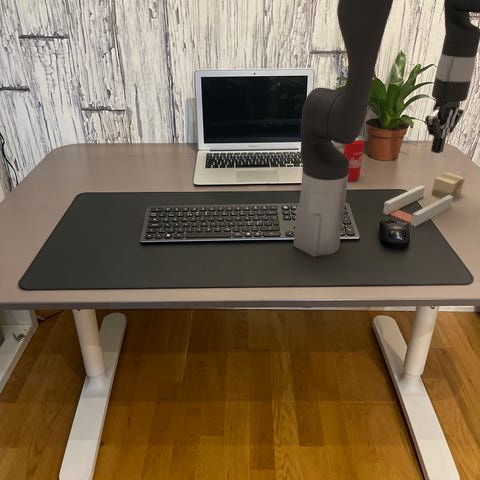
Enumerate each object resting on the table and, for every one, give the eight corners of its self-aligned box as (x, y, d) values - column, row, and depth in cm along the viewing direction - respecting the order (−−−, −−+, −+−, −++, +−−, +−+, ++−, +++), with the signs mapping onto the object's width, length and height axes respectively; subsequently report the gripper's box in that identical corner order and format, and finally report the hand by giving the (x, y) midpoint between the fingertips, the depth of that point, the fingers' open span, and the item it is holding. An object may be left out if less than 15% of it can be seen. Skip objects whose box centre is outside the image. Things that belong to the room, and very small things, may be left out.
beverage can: (358, 175, 142) (363, 134, 136) (360, 182, 137) (365, 141, 131) (339, 174, 142) (344, 134, 136) (341, 181, 138) (346, 140, 132)
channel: (415, 226, 115) (417, 215, 114) (382, 213, 121) (384, 202, 120) (450, 207, 124) (453, 196, 123) (418, 195, 130) (421, 185, 129)
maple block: (448, 201, 127) (453, 183, 125) (431, 195, 131) (435, 177, 128) (460, 195, 131) (465, 178, 128) (443, 189, 134) (447, 172, 132)
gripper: (453, 70, 114) (437, 142, 123) (421, 77, 107) (406, 153, 115) (484, 76, 110) (465, 150, 118) (453, 83, 102) (435, 162, 111)
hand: (436, 151), depth 117 cm, fingers closed
